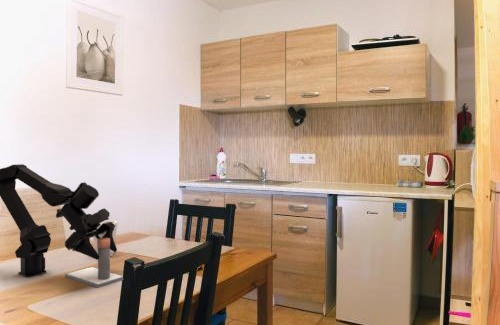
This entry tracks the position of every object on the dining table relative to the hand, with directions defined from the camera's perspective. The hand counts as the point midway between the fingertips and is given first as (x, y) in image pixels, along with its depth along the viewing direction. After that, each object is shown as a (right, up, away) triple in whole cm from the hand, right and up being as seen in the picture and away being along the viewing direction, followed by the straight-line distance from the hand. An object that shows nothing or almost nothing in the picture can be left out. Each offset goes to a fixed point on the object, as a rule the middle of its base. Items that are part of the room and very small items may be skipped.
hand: (107, 254), depth 127 cm
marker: (-1, -8, +1) cm, 8 cm away
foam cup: (-12, -8, +31) cm, 34 cm away
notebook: (-5, -8, +4) cm, 11 cm away
